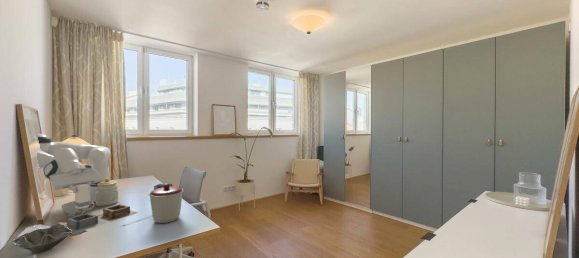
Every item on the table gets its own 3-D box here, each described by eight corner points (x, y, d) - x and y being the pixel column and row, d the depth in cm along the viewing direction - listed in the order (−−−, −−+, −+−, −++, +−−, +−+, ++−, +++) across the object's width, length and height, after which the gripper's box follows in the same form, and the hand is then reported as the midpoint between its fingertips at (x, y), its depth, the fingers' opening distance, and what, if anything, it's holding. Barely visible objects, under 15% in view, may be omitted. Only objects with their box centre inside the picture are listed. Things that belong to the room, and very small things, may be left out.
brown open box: (94, 217, 142) (94, 209, 142) (121, 209, 155) (121, 202, 155) (111, 223, 134) (111, 214, 134) (138, 214, 147) (138, 206, 147)
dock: (56, 228, 126) (56, 219, 126) (90, 218, 140) (90, 210, 140) (73, 235, 119) (73, 225, 119) (107, 224, 132) (107, 215, 132)
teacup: (62, 222, 135) (62, 208, 135) (60, 216, 143) (60, 203, 143) (96, 214, 146) (96, 202, 146) (92, 210, 154) (92, 197, 154)
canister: (144, 228, 127) (143, 188, 127) (153, 215, 145) (153, 181, 144) (181, 224, 132) (180, 186, 132) (186, 212, 149) (185, 179, 149)
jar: (98, 201, 172) (98, 177, 171) (120, 199, 177) (120, 175, 177) (92, 207, 160) (92, 181, 160) (116, 204, 165) (116, 179, 165)
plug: (74, 207, 128) (74, 185, 128) (84, 205, 132) (84, 183, 132) (79, 209, 126) (79, 186, 126) (89, 206, 130) (88, 184, 130)
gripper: (50, 170, 122) (59, 192, 118) (96, 165, 141) (105, 183, 137) (46, 178, 124) (55, 199, 120) (92, 171, 143) (101, 190, 139)
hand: (82, 191), depth 129 cm, fingers closed on plug, 4 cm apart
